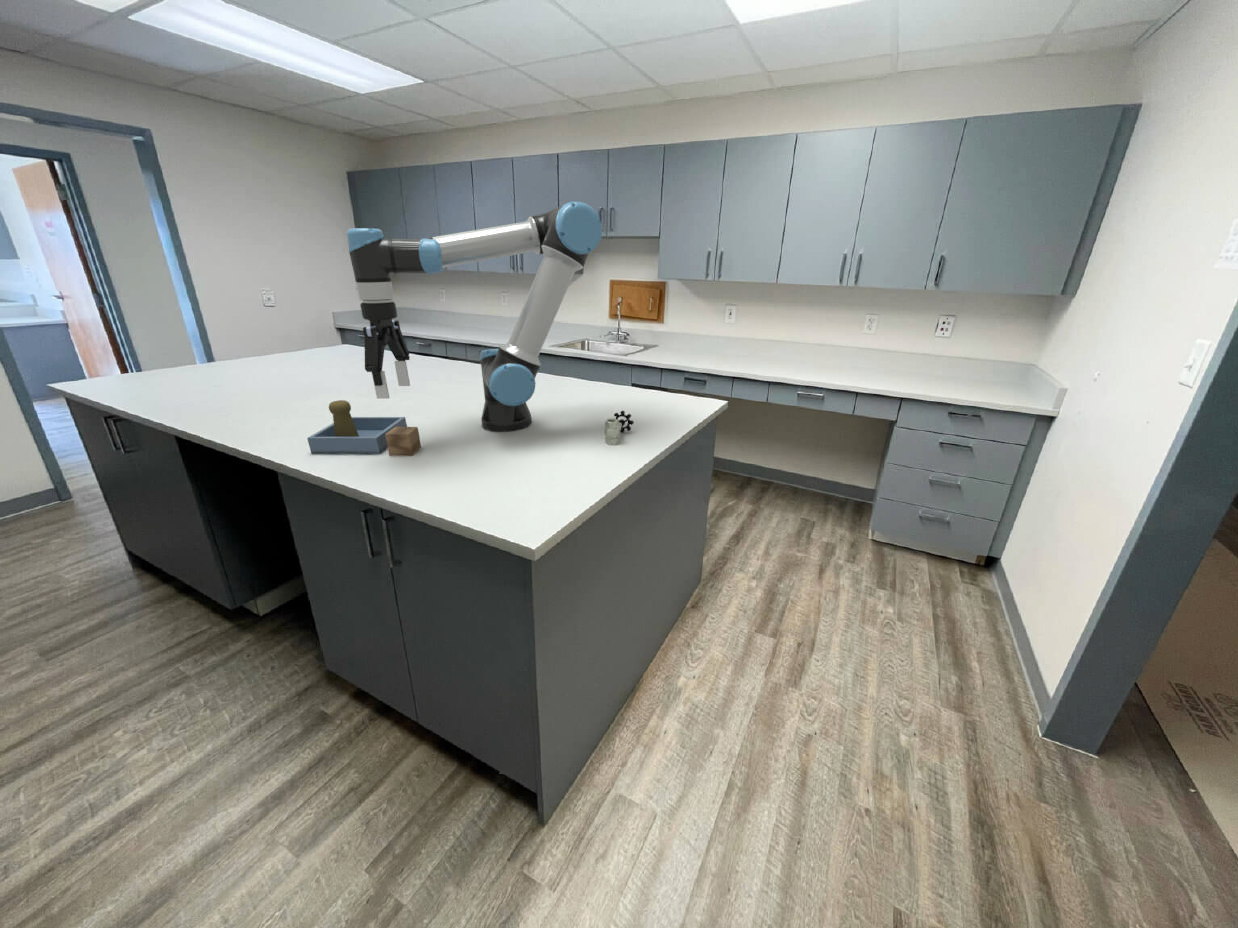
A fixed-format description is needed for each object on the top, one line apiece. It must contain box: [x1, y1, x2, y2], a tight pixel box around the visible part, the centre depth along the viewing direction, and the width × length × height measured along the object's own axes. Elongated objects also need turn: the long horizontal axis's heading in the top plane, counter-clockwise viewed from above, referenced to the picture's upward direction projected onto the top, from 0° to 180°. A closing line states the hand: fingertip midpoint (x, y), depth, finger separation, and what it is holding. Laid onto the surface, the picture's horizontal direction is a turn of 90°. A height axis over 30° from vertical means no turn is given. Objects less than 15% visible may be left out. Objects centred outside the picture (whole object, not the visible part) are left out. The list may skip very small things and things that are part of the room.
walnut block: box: [385, 426, 422, 457], centre depth 128 cm, size 6×6×6 cm
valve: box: [603, 410, 635, 446], centre depth 137 cm, size 7×7×12 cm
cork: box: [328, 399, 359, 437], centre depth 133 cm, size 6×6×11 cm
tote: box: [306, 416, 408, 455], centre depth 135 cm, size 18×18×4 cm
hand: (394, 391), depth 123 cm, fingers open, 12 cm apart
